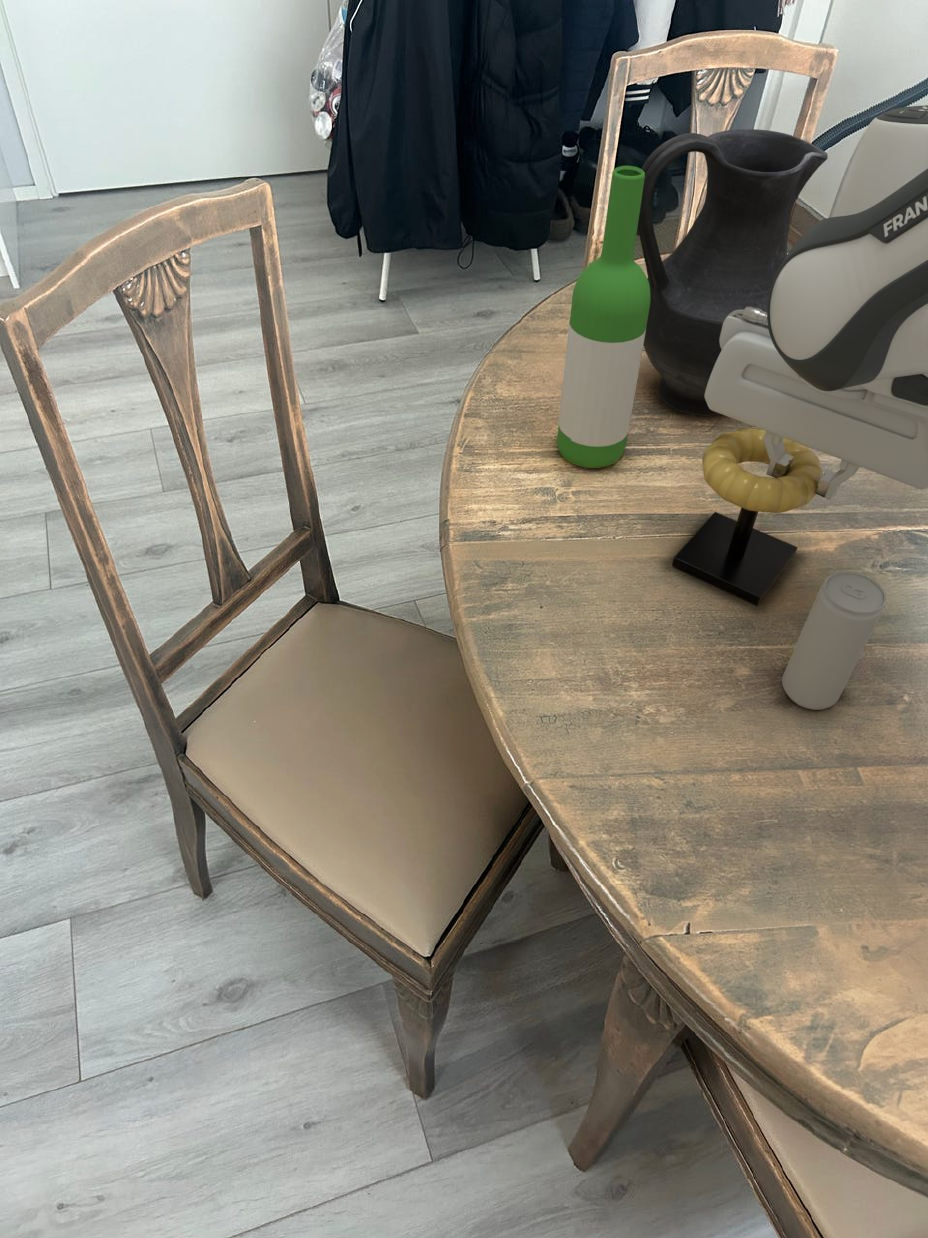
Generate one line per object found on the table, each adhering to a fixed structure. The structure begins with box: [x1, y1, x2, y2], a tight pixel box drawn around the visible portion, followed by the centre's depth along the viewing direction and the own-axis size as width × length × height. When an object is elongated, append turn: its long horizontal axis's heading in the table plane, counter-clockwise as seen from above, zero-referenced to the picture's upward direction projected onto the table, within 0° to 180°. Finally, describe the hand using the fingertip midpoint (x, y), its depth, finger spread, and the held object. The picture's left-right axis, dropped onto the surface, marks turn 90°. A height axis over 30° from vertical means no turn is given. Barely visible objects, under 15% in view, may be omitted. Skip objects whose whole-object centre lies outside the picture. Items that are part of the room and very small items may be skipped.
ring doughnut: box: [701, 427, 824, 514], centre depth 79 cm, size 10×10×3 cm
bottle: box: [556, 165, 650, 469], centre depth 89 cm, size 8×8×30 cm
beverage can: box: [781, 570, 887, 711], centre depth 71 cm, size 5×5×12 cm
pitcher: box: [637, 128, 828, 417], centre depth 97 cm, size 17×21×30 cm
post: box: [671, 507, 798, 606], centre depth 84 cm, size 9×9×7 cm
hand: (801, 484), depth 77 cm, fingers closed on ring doughnut, 3 cm apart
